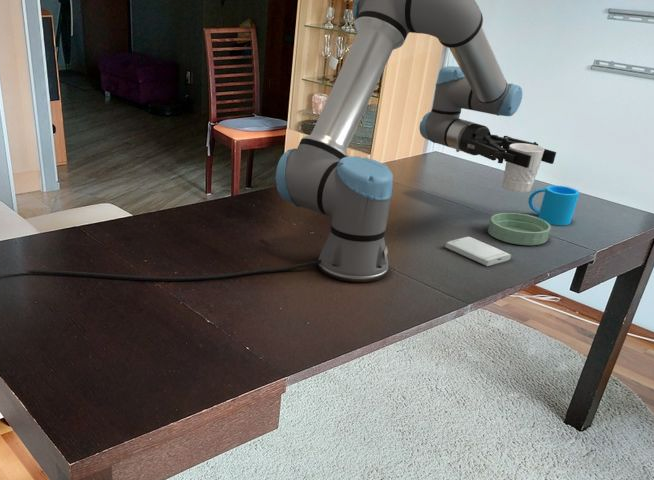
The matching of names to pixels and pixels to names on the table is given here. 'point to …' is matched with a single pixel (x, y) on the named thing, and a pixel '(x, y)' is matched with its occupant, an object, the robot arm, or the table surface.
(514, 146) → the white cup
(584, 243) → the table surface
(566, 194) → the mug
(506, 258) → the hard drive
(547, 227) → the bowl
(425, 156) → the table surface
